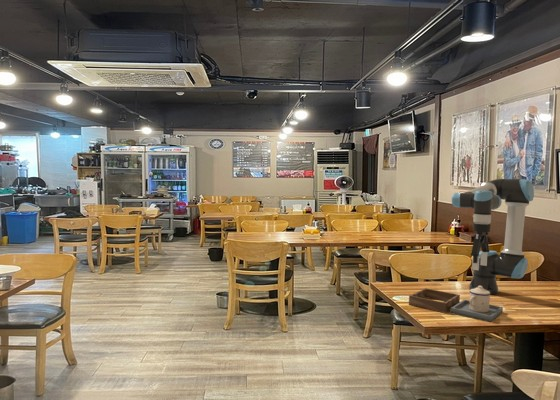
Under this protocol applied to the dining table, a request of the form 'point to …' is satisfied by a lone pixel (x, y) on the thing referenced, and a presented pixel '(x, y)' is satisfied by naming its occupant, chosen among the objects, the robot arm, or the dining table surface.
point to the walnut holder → (420, 300)
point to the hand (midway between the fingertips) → (479, 267)
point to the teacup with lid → (479, 299)
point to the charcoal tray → (464, 310)
